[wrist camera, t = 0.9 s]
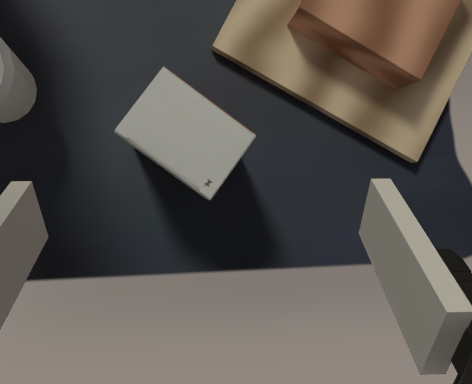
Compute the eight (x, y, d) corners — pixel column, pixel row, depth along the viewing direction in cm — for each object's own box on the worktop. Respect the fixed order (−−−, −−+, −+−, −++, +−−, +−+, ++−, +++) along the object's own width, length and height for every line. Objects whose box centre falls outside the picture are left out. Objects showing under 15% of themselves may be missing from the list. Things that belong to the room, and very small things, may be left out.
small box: (238, 149, 39) (260, 136, 29) (202, 198, 39) (212, 203, 28) (167, 95, 38) (163, 62, 28) (130, 145, 38) (112, 130, 27)
